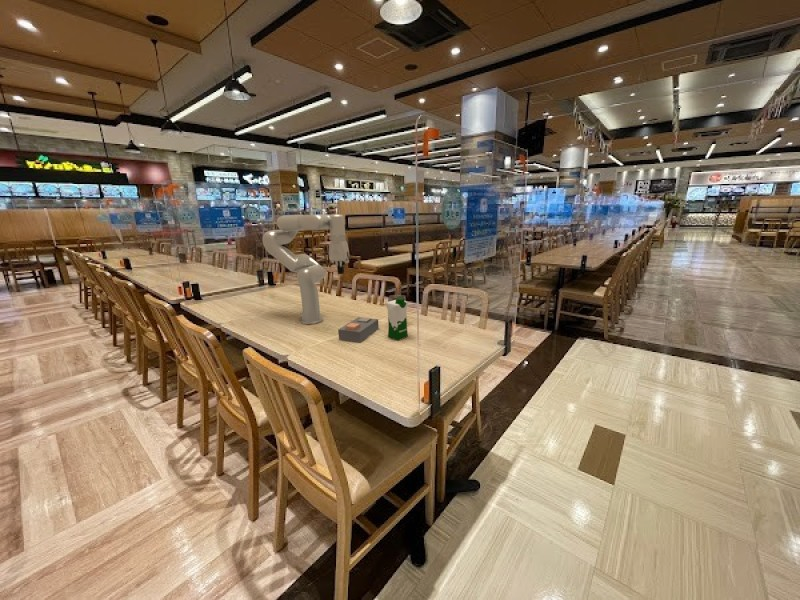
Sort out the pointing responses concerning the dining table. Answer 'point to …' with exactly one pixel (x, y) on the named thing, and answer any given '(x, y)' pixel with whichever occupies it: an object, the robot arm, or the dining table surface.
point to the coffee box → (393, 297)
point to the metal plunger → (364, 320)
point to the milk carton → (397, 318)
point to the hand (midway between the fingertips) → (340, 273)
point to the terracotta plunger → (352, 326)
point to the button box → (358, 331)
